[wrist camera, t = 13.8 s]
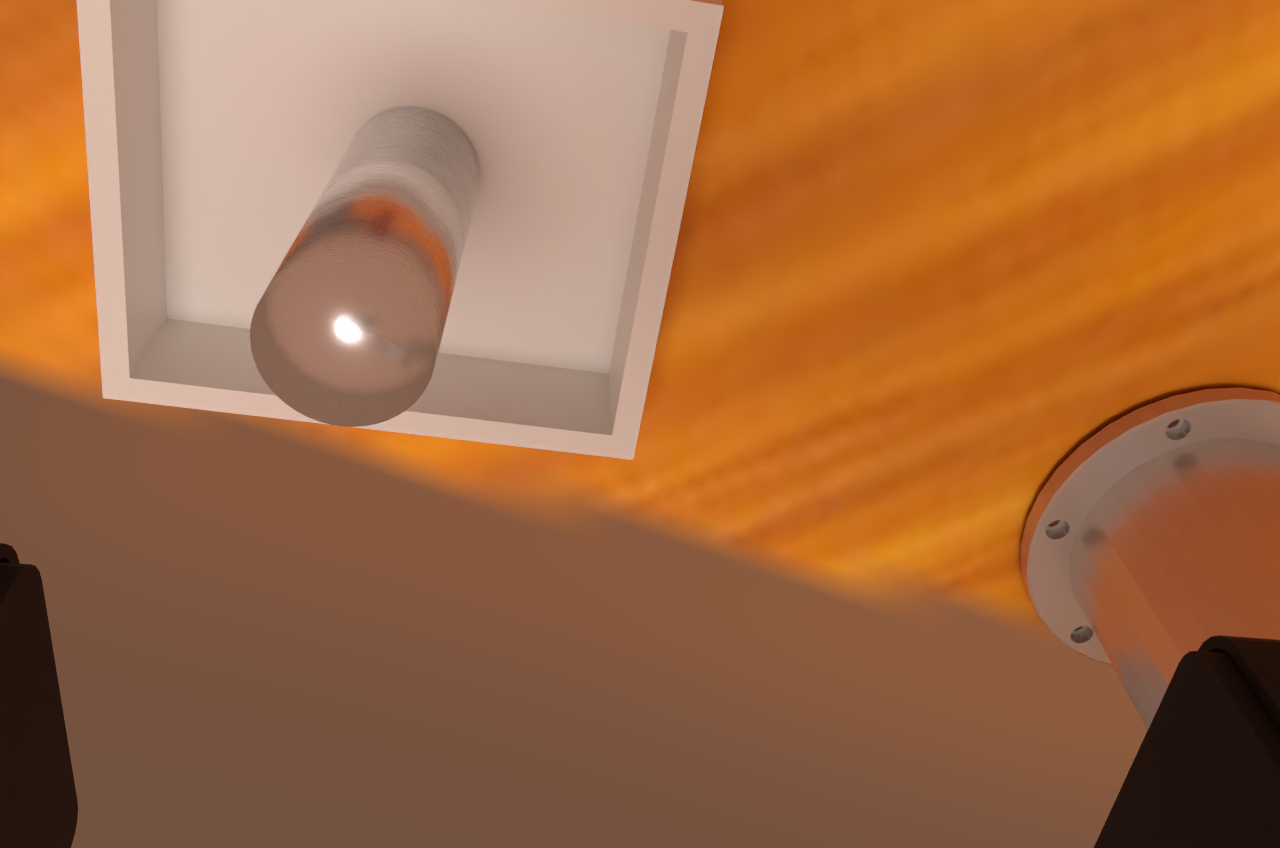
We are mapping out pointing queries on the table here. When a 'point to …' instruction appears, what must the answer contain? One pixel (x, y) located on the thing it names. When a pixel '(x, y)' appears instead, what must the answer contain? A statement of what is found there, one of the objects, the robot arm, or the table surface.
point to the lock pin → (371, 273)
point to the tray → (314, 146)
